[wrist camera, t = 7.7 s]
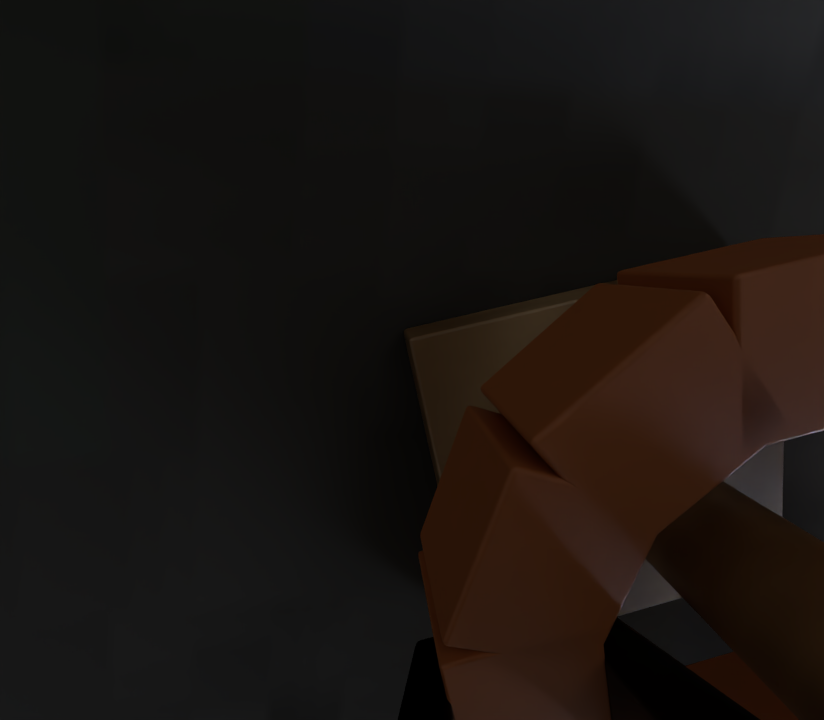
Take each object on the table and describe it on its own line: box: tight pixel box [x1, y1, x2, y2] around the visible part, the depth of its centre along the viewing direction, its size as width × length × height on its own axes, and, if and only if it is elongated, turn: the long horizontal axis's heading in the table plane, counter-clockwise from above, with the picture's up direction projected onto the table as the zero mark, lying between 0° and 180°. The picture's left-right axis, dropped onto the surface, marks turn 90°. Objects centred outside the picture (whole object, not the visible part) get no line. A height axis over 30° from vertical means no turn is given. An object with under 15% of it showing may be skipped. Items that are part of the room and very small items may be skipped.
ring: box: [418, 234, 824, 720], centre depth 8 cm, size 12×12×2 cm
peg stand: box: [404, 280, 824, 720], centre depth 9 cm, size 10×10×8 cm
